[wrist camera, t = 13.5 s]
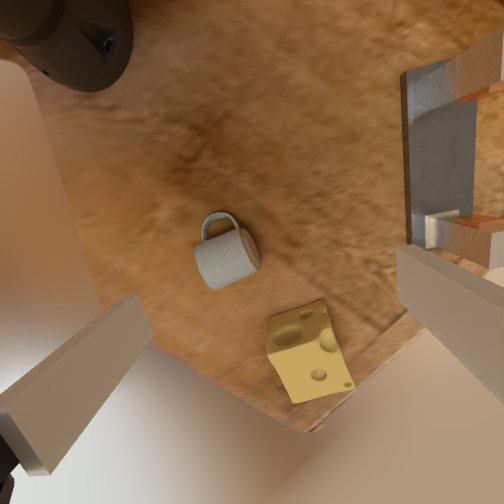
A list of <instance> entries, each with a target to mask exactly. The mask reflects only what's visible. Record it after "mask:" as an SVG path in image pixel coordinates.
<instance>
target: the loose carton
mask: <svg viewBox="0 0 504 504" xmlns="http://www.w3.org/2000/svg"><path fill="white" fill-rule="evenodd" d="M430 244H432V245H434V246H437V247H439V248H441V249H444V250H446V251H448V252H451V253H453V254H455V255H458V256H460V257H463V258H465V259H467V260H470V261H472V262H474V263H477V264H479V265H481V266H484V267H486V268H488V269H491V268H498V267H504V219H501V218H495V217H490V216H484V215H479V214H469V215H460V214H455V213H452V214H446V215H441V216H435V217H431V235H430Z"/></svg>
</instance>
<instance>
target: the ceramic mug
mask: <svg viewBox="0 0 504 504" xmlns="http://www.w3.org/2000/svg"><path fill="white" fill-rule="evenodd" d="M225 217H228V218H230V219H231V220H232V222H233V223H234V226H235V229H234V230H231V231H229V232H227V233H224V234H222V235H219V236H217V237H214V238H211V239H209V240H207V227H208V225H209V223H211V221H214V220H217V219H220V218H222V219H223V218H225ZM201 235H202V242H201V243H199V244H197V245H196V246H195V252H194V254H195V260H196V264H197V267H198V270H199V272H200V274H201V276H202V278H203V279H204V281H205V282H206V284H207V285H208V286H209V287H210V288H212V289H214V290H218V289H220V288H223V287H225V286H227V285H229V284H231V283H234V282H236V281H238V280H240V279H242V278H244V277H247V276H249V275H251V274H253V273H255V272H256V271H258V270H259V269H260V267H261V259H260V256H259V253H258V250H257V248H256V245H255V243H254V241H253V239H252V237H251V236H250V234H249V232H248V231H247V230H246V229H243V228H239V225H238V223H237V222H236V220H235V219H234V218H233V217H232V216H231V215H229V214H227V213H224V212H217V213H214V214H211V215H210V216H208V217H207V218H206V219H205V221H204V223H203V225H202V231H201Z"/></svg>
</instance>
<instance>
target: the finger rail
mask: <svg viewBox="0 0 504 504" xmlns="http://www.w3.org/2000/svg"><path fill="white" fill-rule="evenodd" d="M400 82H401V106H402V131H403V156H404V180H405V205H406V230H407V245H412V244H414V245H416V246H418V247H420V248H422V249H424V250H426V251H432V250H438V249H441V248H439V247H437V246H434V245H432V244H430V235H431V217H435V216H441V215H446V214H452V213H455V214H460V215H469V214H473V189H474V163H475V138H476V112H477V100H481V99H484V98H486V97H489V96H492V95H495V94H497V93H500V92H503V91H504V26H502V27H501V28H499V29H498V30H496V31H495V32H493V33H492V34H490V35H489V36H487V37H486V38H484V39H483V40H481V41H480V42H478V43H476V44H475V45H473V46H472V47H470V48H469V49H467V50H466V51H464V52H463V53H461V54H460V55H458V56H457V57H455V58H453V59H450V60H446V61H443V62H439V63H435V64H432V65H428V66H424V67H421V68H417V69H414V70H410V71H406V72H405V73H404V74H403V75H401V76H400Z"/></svg>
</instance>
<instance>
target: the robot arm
mask: <svg viewBox="0 0 504 504" xmlns="http://www.w3.org/2000/svg"><path fill="white" fill-rule="evenodd" d="M0 39H2V40H4V41H6V42H7V43H9V44H10V45H11V46H12V47H13V48H14V49H15V50H16V51H18V52H19V53H20V54H21V55H22V56H23V57H25V58H26V59H27V60H28V61H30V62H31V63H32V64H33V65H34V66H35V67H36V68H37V69H38V70H39V71H40V72H42V73H43V74H44V75H45V76H47V77H49V78H50V79H52V80H53V81H55V82H57V83H59V84H62V85H64V86H66V87H68V88H71V89H74V90H77V91H81V92H94V91H99V90H102V89H104V88H106V87H108V86H110V85H111V84H112V83H114V82H115V81H116V80H117V79H118V78H119V76H120V75H121V74H122V72H123V70H124V69H125V67H126V64H127V62H128V59H129V56H130V52H131V46H132V23H131V17H130V13H129V9H128V6H127V3H126V0H0ZM395 249H396V267H397V285H398V300H399V301H400V302H401V303H402V304H403V305H404V306H405V307H406V308H407V309H408V310H409V311H410V312H411V313H412V314H413V315H414V316H415V317H416V318H417V319H418V320H419V321H420V322H421V323H422V324H423V325H424V326H425V327H426V328H427V329H428V330H429V331H430V332H431V333H432V334H433V335H434V336H435V337H436V338H437V339H438V340H439V341H440V342H441V343H442V344H443V345H444V346H445V347H446V348H447V349H448V350H449V351H450V352H451V353H452V354H453V355H454V356H455V357H456V358H457V359H458V360H459V361H461V363H462V364H463V365H464V366H465V367H466V368H467V369H468V370H470V371H471V372H472V373H473V374H474V375H475V376H476V377H477V378H478V379H479V380H480V381H481V382H482V383H483V384H484V385H485V386H486V387H487V388H488V389H489V390H490V391H491V392H492V393H493V394H494V395H495V396H496V397H497V398H498V399H499V400H500V401H501V402H502V403H503V404H504V288H503V287H501V286H499V285H497V284H495V283H493V282H491V281H489V280H486V279H485V278H482V277H480V276H478V275H476V274H474V273H472V272H470V271H468V270H466V269H464V268H462V267H460V266H458V265H455V264H453V263H451V262H449V261H447V260H445V259H443V258H441V257H439V256H437V255H435V254H433V253H431V252H428V251H426V250H424V249H422V248H420V247H418V246H416V245H414V244H412V245H406V246H400V247H395ZM153 337H154V335H153V332H152V330H151V327H150V325H149V322H148V320H147V317H146V315H145V312H144V310H143V307H142V305H141V302H140V300H139V297H138V295H137V293H135V294H130V295H124V296H123V297H122V298H120V299H119V300H118V301H117V302H115V303H114V304H113V305H112V306H110V307H109V308H108V309H107V310H105V311H104V312H103V313H102V314H100V315H99V316H98V317H97V318H95V319H94V320H93V321H92V322H90V323H89V324H88V325H87V326H85V327H84V328H83V329H82V330H80V331H79V332H78V333H76V334H75V335H74V336H73V337H71V338H70V339H69V340H68V341H66V342H65V343H64V344H63V345H61V346H60V347H59V348H58V349H56V350H55V351H54V352H53V353H51V354H50V355H49V356H48V357H46V358H45V359H44V360H43V361H41V362H40V363H39V364H38V365H37V366H35V367H34V368H33V369H31V370H30V371H29V372H28V373H26V374H25V375H24V376H23V377H21V378H20V379H19V380H18V381H17V382H15V383H14V384H13V385H11V386H10V387H9V388H8V389H6V390H5V391H4V392H3V393H1V394H0V504H9V502H10V499H11V495H12V491H13V488H14V478H13V477H12V476H11V474H10V473H11V472H12V470H13V469H14V468H15V467H16V466H17V465H18V464H19V463H20V464H21V466H22V467H23V468H24V470H25V471H26V473H27V474H28V475H29V476H43V475H51V473H52V472H53V471H54V469H55V468H56V467H57V465H58V464H59V463H60V461H61V460H62V459H63V457H64V456H65V455H66V453H67V452H68V450H69V449H70V448H71V447H72V445H73V444H74V443H75V441H76V440H77V439H78V437H79V436H80V435H81V433H82V432H83V431H84V429H85V428H86V427H87V425H88V424H89V423H90V421H91V420H92V418H93V417H94V416H95V414H96V413H97V411H98V410H99V409H100V408H101V406H102V405H103V404H104V402H105V401H106V400H107V398H108V397H109V396H110V394H111V393H112V392H113V390H114V389H115V388H116V386H117V385H118V383H119V382H120V381H121V380H122V378H123V377H124V376H125V374H126V373H127V372H128V370H129V369H130V368H131V366H132V365H133V363H134V362H135V361H136V359H137V358H138V357H139V356H140V354H141V353H142V351H143V350H144V349H145V347H146V346H147V345H148V343H149V342H150V341H151V339H152V338H153Z"/></svg>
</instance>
